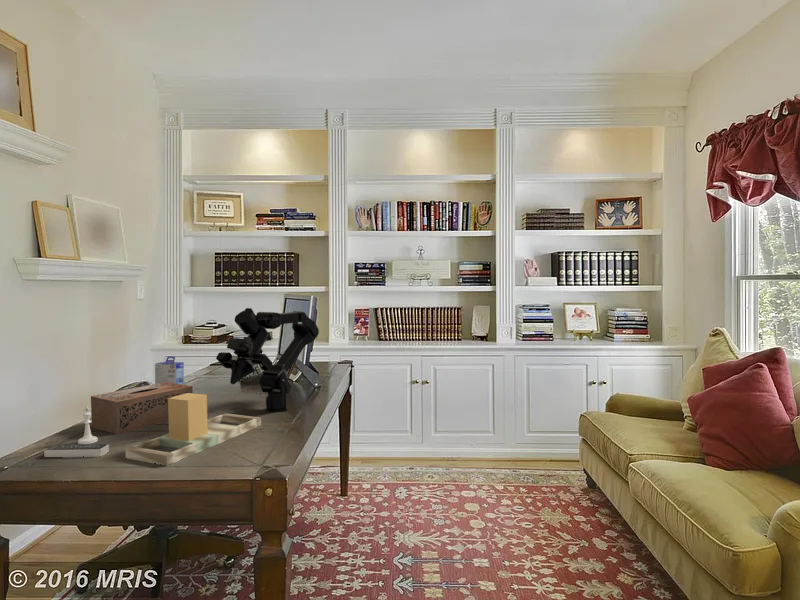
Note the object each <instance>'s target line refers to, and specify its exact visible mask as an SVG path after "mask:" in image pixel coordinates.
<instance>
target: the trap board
mask: <svg viewBox="0 0 800 600" xmlns="http://www.w3.org/2000/svg"><path fill="white" fill-rule="evenodd" d="M207 424H208V434H206V435H203V436H201V437H198V438H196V439H193V440H191V441H185V440H178V439H171V438H169V433H166V434H163V435H161V436H158V437H155V438H152V439H149V440H147V441H144V442H141V443H138V444H135V445H132V446H129V447H127V448H125V459H126V458H127V460H133V461H138V462H142V463H143V462H144V463H150V464H154V463H156V464H155V465H160V464H161V465H162V466H166V465H168V466H169V464H170V465H172V464H175V463H177V462H179V461H181V459H182V460H184V459H186V458H188V457H190V456H193V455H196V454H197V453H200V452H202V451H204V450H207V449H210V448H212V447H214V446H217V445H219V444H221V443H223V442H226V441H228V440H230V439H233V438H235V437H238V436H240V435H242V434H244V433H248V432H249V431H251V430H254V429H256V428H260V427H261V426H262V418H261V417H258V416H249V415H242V414H241V415H240V414H233V413H223V414H219V415H217V416H214V417H211V418H207ZM183 458H184V459H183Z"/></svg>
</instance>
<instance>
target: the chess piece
mask: <svg viewBox="0 0 800 600" xmlns="http://www.w3.org/2000/svg"><path fill="white" fill-rule="evenodd" d="M84 411H85V412H84ZM90 411H91V407H90V408H89V406H85V408H83V414H82V416H83V418H84V420H83V421H82V423H83V424H85V425H84V434H83V436H82V437H81V438H79V439H77V445H91V444H93V443H97V442H98V441H99V438H98V437H97V436H94V435H93V434H92V431H91V428H90V427H91V426H90V424H92V419H91V412H90ZM90 419H91V420H90Z"/></svg>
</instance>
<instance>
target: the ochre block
mask: <svg viewBox="0 0 800 600" xmlns="http://www.w3.org/2000/svg"><path fill="white" fill-rule="evenodd" d="M168 415H169V421H168V434H169V438H171V439H178V440H185V441H191V440H193V439H196V438H198V437H201V436H203V435H206V434H208V424H207V420H208V395H207V394H201V393H194V392H193V393H185V394H182V395H178V396H175V397H171V398H168Z"/></svg>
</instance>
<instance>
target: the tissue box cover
mask: <svg viewBox="0 0 800 600" xmlns="http://www.w3.org/2000/svg"><path fill="white" fill-rule="evenodd" d="M193 387H194V386H193V385H187V384H184V385H183V384H177V383H171V382H162V383H157V384H155V383H153V384H148V385H141V386H136V387H132V388H127V389H122V390H115V391H111V392H104V393H101V394H96V395H91V396H90V408H91V410H90V411H91V412H90V413H91V416H90V419H91V421H92V422H91V428H93V429H97V430H101V431H102V432H103V431H104V432H108V433H112V434H115V435H121V434H125V433H129V432H132V431H135V430H139V429H140V430H141V429H143V428H148V427H152V426H155V425H159V424H162V423H166V422H167V423H168V422H169V415H168V398H171V397H175V396H178V395H182V394H185V393H193V394H194V392H193Z"/></svg>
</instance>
